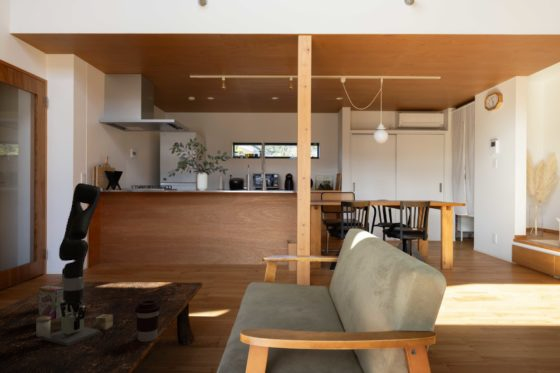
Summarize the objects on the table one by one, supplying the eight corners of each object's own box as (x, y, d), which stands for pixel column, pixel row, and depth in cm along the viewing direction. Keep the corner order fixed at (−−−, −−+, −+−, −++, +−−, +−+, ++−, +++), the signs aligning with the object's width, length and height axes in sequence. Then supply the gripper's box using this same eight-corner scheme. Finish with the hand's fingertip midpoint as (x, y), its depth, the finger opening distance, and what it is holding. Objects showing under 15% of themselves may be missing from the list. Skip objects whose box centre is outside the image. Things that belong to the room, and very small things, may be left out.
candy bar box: (37, 323, 168) (38, 287, 169) (47, 320, 173) (48, 285, 173) (55, 326, 165) (56, 289, 165) (65, 323, 169) (66, 287, 170)
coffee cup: (145, 345, 145) (145, 307, 145) (129, 340, 150) (129, 303, 150) (165, 337, 153) (165, 301, 153) (149, 332, 158) (150, 297, 159)
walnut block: (48, 329, 162) (48, 320, 162) (63, 326, 166) (64, 317, 166) (51, 331, 159) (51, 322, 159) (66, 328, 163) (66, 319, 163)
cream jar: (32, 335, 154) (33, 318, 154) (45, 331, 159) (45, 315, 159) (40, 337, 152) (41, 320, 152) (53, 333, 157) (53, 316, 157)
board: (43, 339, 150) (43, 336, 150) (77, 327, 164) (77, 324, 164) (67, 346, 144) (67, 342, 144) (100, 333, 157) (100, 330, 157)
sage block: (61, 332, 152) (61, 317, 152) (76, 327, 158) (77, 313, 158) (68, 334, 150) (68, 319, 150) (83, 328, 156) (84, 314, 156)
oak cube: (95, 329, 162) (95, 317, 162) (102, 325, 167) (102, 314, 167) (105, 329, 161) (105, 318, 161) (112, 325, 166) (112, 314, 166)
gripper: (53, 287, 154) (52, 328, 153) (76, 291, 148) (75, 334, 147) (70, 283, 161) (69, 323, 160) (93, 287, 155) (92, 328, 154)
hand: (72, 328), depth 154 cm, fingers closed on sage block, 4 cm apart
